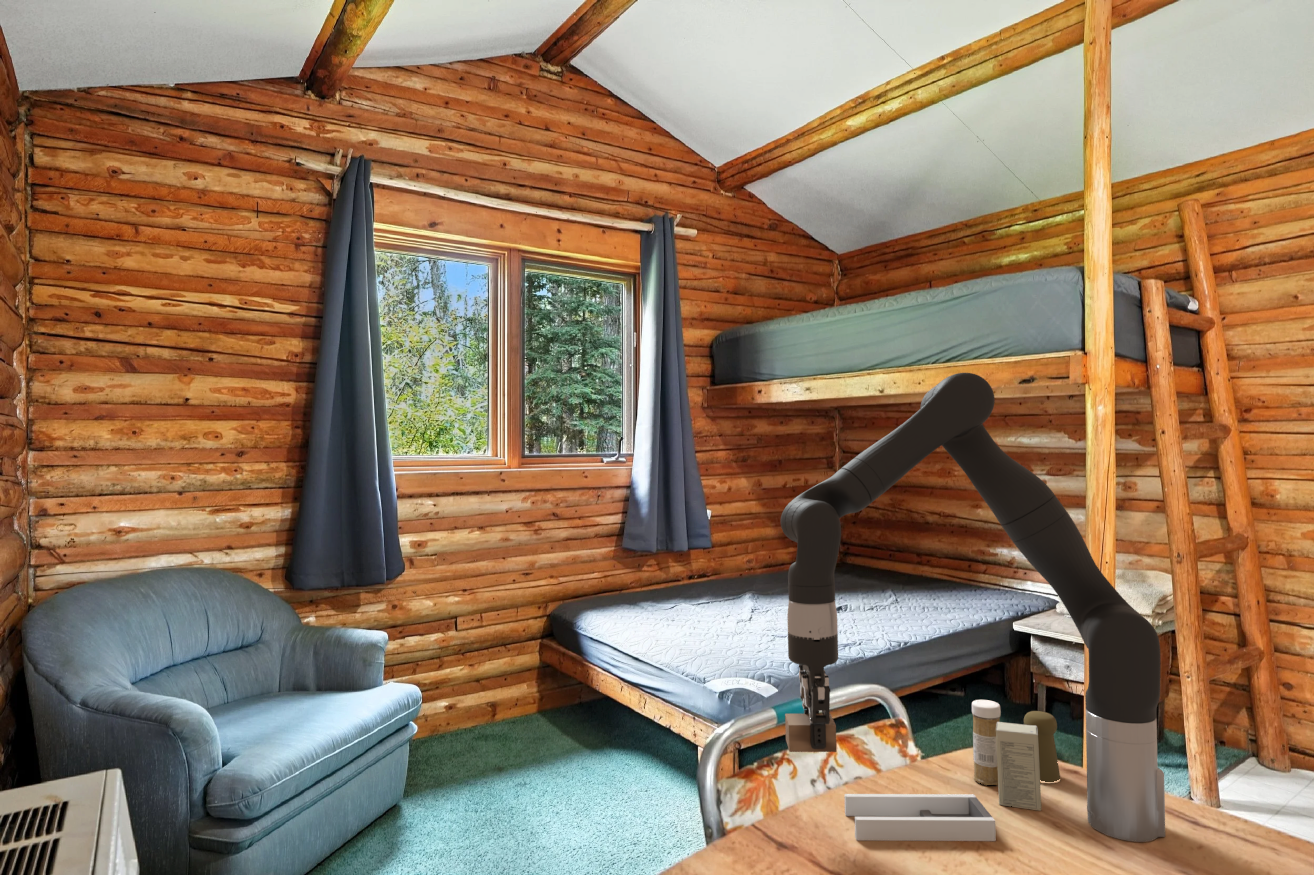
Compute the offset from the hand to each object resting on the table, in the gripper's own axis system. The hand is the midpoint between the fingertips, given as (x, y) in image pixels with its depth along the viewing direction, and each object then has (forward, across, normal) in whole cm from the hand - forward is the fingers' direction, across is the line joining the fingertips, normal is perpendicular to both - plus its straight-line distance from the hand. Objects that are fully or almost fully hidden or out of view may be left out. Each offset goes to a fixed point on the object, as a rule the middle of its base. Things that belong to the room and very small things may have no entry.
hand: (815, 740), depth 119 cm
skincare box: (+14, -8, +34) cm, 37 cm away
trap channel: (+13, 0, +15) cm, 20 cm away
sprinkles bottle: (+14, -16, +32) cm, 38 cm away
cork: (+14, -18, +42) cm, 48 cm away
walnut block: (+1, 0, -1) cm, 1 cm away
